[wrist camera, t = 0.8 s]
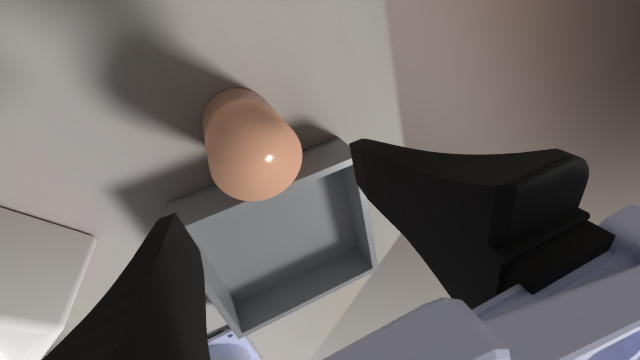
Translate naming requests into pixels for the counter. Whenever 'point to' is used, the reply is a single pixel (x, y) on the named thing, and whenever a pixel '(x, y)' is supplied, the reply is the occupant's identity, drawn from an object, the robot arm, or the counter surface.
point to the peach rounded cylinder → (249, 146)
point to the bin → (282, 240)
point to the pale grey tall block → (37, 282)
